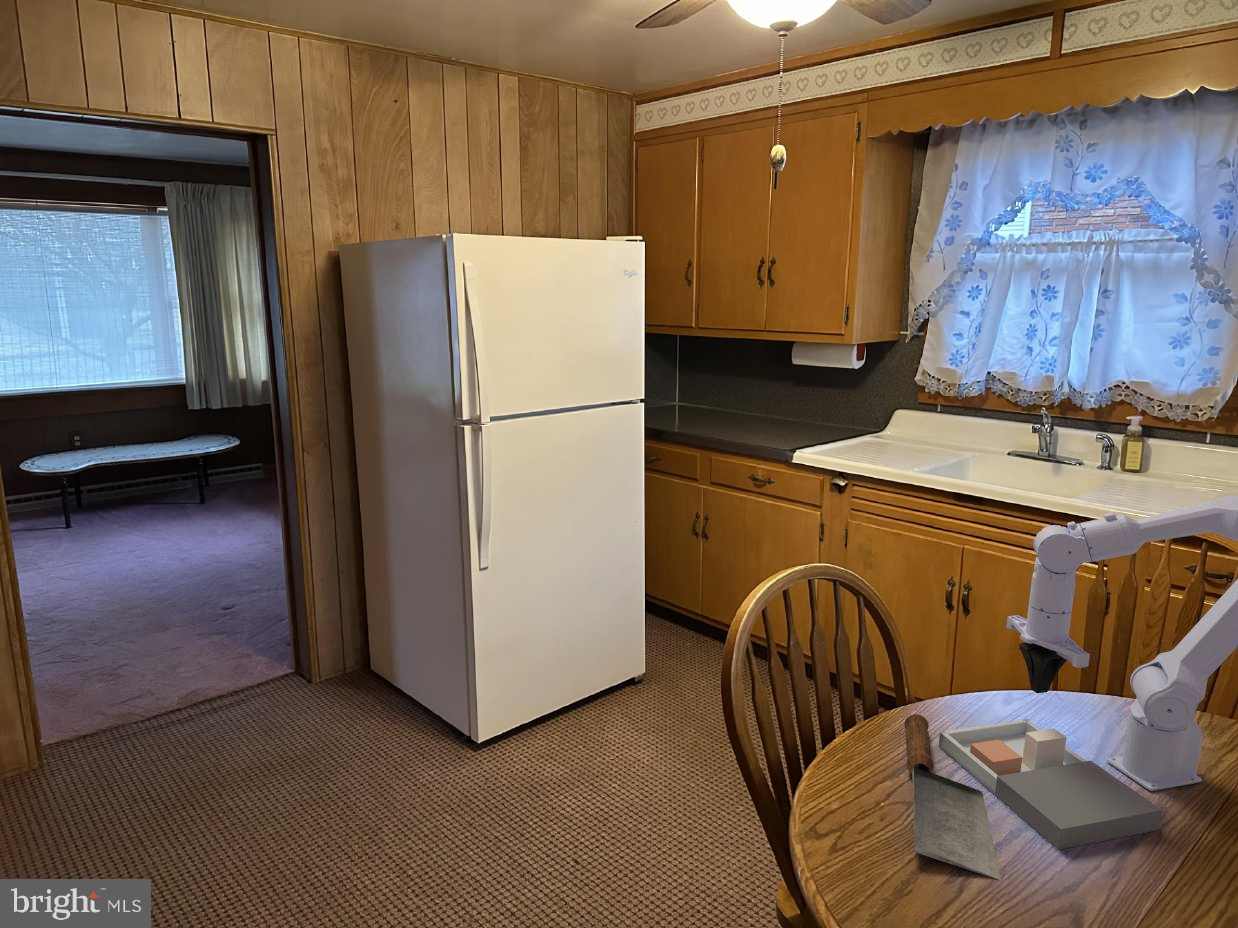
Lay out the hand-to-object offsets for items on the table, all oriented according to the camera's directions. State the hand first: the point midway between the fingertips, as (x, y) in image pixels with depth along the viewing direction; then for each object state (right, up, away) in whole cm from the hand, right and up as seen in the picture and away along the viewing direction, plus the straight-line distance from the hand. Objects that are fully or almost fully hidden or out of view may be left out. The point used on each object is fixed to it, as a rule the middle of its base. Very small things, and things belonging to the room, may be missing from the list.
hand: (1039, 690), depth 128 cm
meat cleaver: (-17, -13, -8) cm, 23 cm away
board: (-1, -13, -12) cm, 18 cm away
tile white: (0, -8, -4) cm, 9 cm away
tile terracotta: (-8, -8, -3) cm, 12 cm away
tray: (-4, -11, 0) cm, 12 cm away
